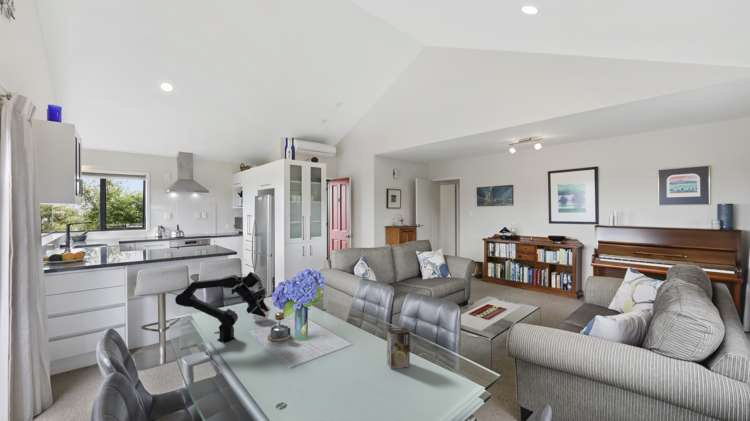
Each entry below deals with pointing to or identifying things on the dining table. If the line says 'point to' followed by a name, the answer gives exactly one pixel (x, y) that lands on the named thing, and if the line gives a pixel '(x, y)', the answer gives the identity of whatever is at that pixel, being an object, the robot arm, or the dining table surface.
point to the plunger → (279, 317)
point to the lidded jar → (261, 318)
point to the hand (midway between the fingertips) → (266, 313)
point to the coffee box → (398, 348)
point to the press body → (279, 334)
